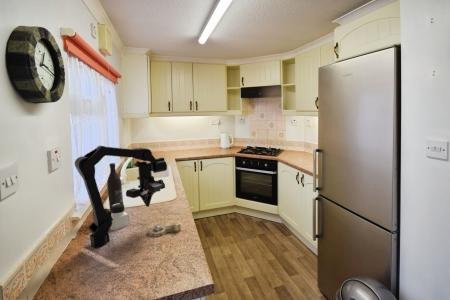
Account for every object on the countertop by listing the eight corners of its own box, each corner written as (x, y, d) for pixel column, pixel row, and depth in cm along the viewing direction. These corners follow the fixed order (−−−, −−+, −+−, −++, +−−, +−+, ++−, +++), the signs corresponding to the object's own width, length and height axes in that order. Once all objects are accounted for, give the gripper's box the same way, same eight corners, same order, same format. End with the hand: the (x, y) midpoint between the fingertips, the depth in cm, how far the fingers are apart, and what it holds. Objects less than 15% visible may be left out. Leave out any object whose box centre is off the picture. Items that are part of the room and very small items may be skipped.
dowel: (176, 233, 120) (176, 226, 119) (174, 232, 121) (173, 225, 120) (179, 231, 121) (178, 224, 121) (176, 231, 122) (176, 224, 122)
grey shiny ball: (157, 234, 119) (157, 228, 119) (153, 232, 121) (153, 226, 121) (162, 231, 122) (161, 225, 121) (158, 230, 123) (157, 224, 123)
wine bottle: (118, 219, 141) (112, 165, 137) (107, 218, 143) (102, 164, 139) (127, 215, 147) (122, 162, 143) (117, 213, 150) (111, 162, 145)
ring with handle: (147, 237, 116) (146, 231, 116) (149, 229, 125) (148, 223, 124) (181, 233, 119) (180, 227, 119) (180, 225, 127) (180, 219, 127)
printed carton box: (130, 227, 131) (127, 204, 129) (116, 232, 126) (113, 208, 124) (123, 223, 136) (121, 201, 134) (109, 228, 131) (107, 205, 129)
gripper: (139, 181, 111) (142, 216, 113) (171, 172, 126) (173, 203, 128) (123, 178, 117) (126, 211, 120) (156, 170, 133) (158, 199, 135)
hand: (147, 206), depth 125 cm, fingers closed
